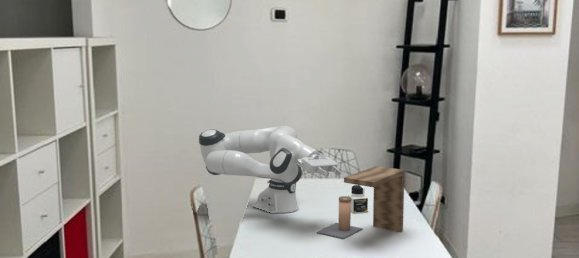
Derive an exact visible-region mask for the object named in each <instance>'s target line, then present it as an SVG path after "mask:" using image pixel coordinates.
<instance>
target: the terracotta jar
mask: <svg viewBox="0 0 579 258" xmlns="http://www.w3.org/2000/svg"><path fill="white" fill-rule="evenodd" d="M351 214H352V212H351V197H348V195H346V196H344V195H342V196H339V197H338V218H337V219H338V221H337V223H338V229H339V230H341V231H348V230H350V226H351V219H352V217H351Z"/></svg>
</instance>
